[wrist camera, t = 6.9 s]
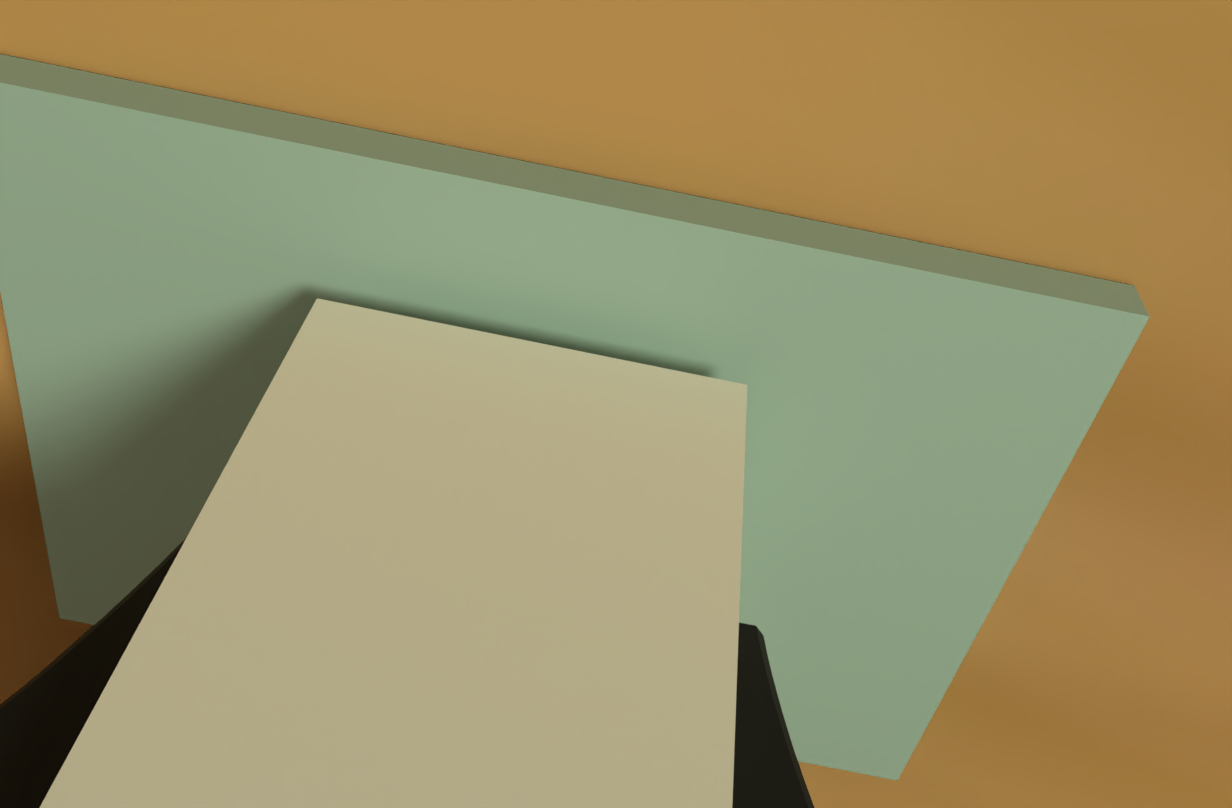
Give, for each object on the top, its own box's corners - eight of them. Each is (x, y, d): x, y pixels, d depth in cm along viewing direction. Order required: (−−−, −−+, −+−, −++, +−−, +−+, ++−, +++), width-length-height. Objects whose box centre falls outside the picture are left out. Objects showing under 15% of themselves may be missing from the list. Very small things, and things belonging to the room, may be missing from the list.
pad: (1134, 286, 12) (1149, 316, 12) (893, 745, 17) (897, 780, 17) (-8, 52, 12) (-39, 74, 11) (79, 587, 17) (59, 618, 16)
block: (746, 384, 12) (719, 1145, 7) (643, 719, 16) (571, 1374, 10) (316, 298, 12) (-64, 999, 7) (317, 656, 16) (76, 1284, 10)
